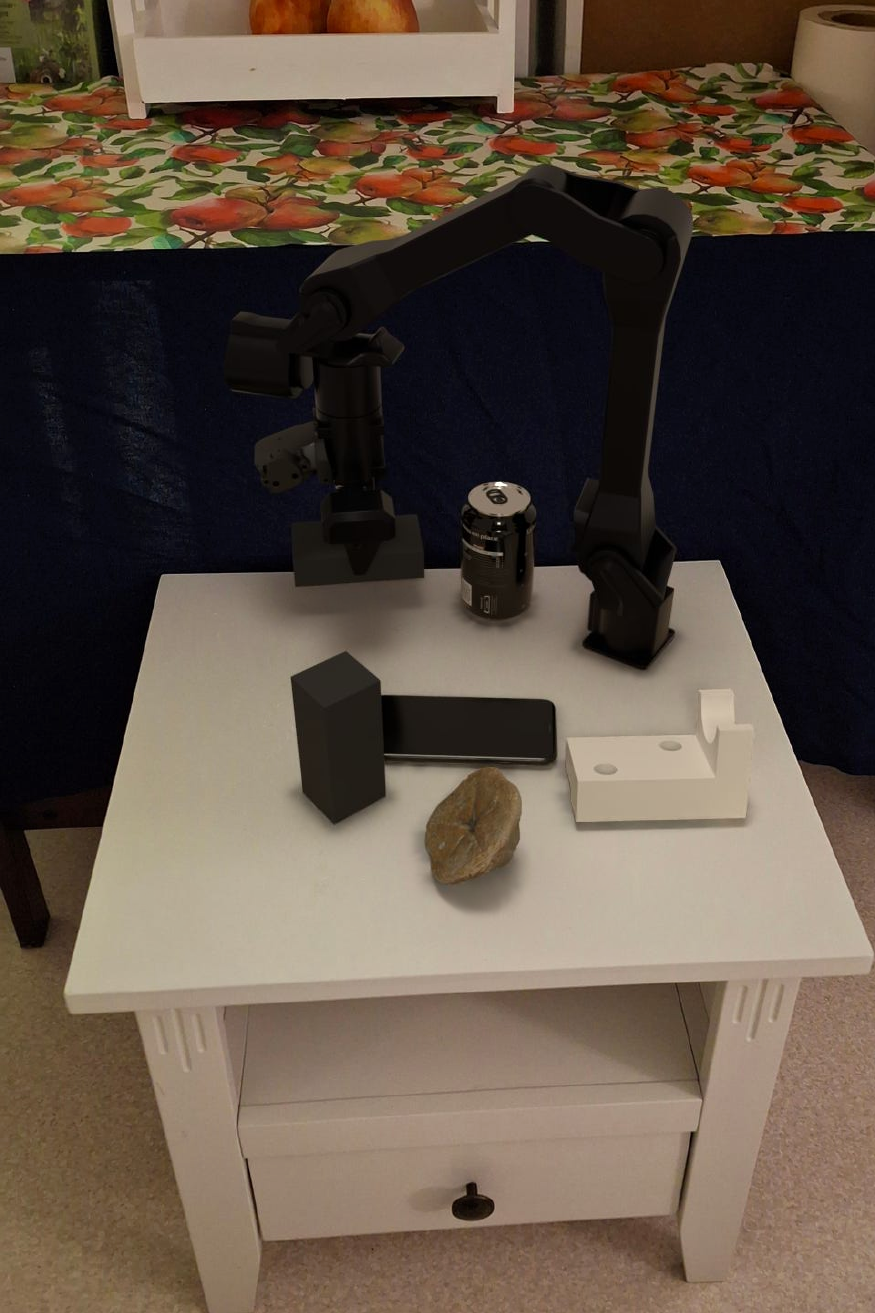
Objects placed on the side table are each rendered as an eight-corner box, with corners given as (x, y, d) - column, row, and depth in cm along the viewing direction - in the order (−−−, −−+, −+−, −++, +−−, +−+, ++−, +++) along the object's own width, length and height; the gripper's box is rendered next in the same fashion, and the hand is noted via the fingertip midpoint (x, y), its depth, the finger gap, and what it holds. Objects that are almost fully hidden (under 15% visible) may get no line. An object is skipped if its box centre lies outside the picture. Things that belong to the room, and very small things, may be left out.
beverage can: (513, 579, 120) (517, 472, 112) (544, 617, 115) (550, 508, 107) (449, 595, 118) (449, 487, 110) (478, 634, 113) (480, 524, 105)
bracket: (723, 772, 100) (731, 689, 97) (745, 817, 93) (754, 729, 90) (565, 776, 100) (568, 692, 97) (576, 822, 93) (579, 733, 90)
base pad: (417, 540, 119) (417, 513, 117) (424, 578, 114) (423, 551, 112) (293, 548, 118) (291, 522, 116) (295, 587, 113) (292, 560, 111)
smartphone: (360, 763, 99) (557, 769, 99) (360, 755, 99) (558, 761, 98) (370, 700, 106) (555, 705, 105) (369, 692, 105) (556, 697, 104)
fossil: (487, 744, 93) (529, 815, 84) (525, 773, 95) (569, 845, 86) (408, 826, 94) (440, 904, 85) (446, 853, 96) (482, 932, 87)
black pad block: (353, 765, 99) (346, 650, 92) (386, 796, 97) (381, 680, 89) (302, 792, 97) (289, 676, 90) (334, 825, 94) (324, 708, 87)
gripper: (255, 361, 112) (271, 507, 122) (254, 462, 97) (272, 619, 107) (376, 354, 113) (382, 500, 122) (393, 454, 98) (398, 609, 108)
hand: (357, 553), depth 115 cm, fingers closed on base pad, 6 cm apart
